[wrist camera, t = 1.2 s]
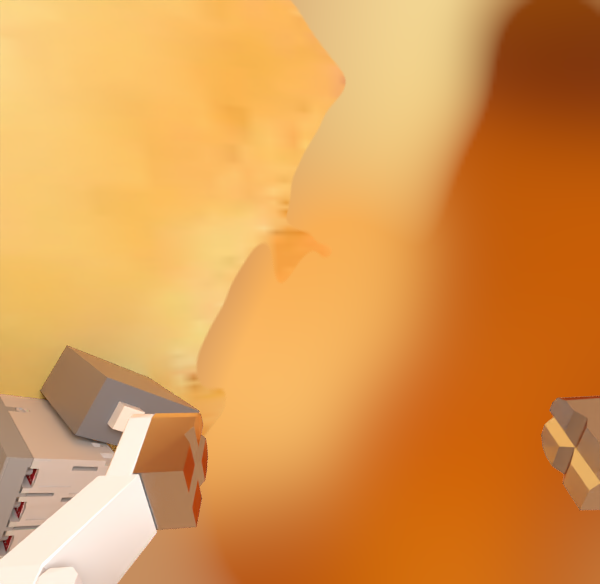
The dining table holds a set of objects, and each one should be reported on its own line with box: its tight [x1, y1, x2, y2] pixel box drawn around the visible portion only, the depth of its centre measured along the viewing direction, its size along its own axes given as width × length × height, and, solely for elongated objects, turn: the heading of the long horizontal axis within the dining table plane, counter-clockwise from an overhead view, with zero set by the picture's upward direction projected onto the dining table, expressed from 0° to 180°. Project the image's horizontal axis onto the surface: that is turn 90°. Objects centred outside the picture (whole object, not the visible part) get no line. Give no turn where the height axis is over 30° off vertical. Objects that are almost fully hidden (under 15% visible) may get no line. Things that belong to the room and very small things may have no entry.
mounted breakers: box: [40, 346, 199, 446], centre depth 41 cm, size 10×20×13 cm, turn 146°
